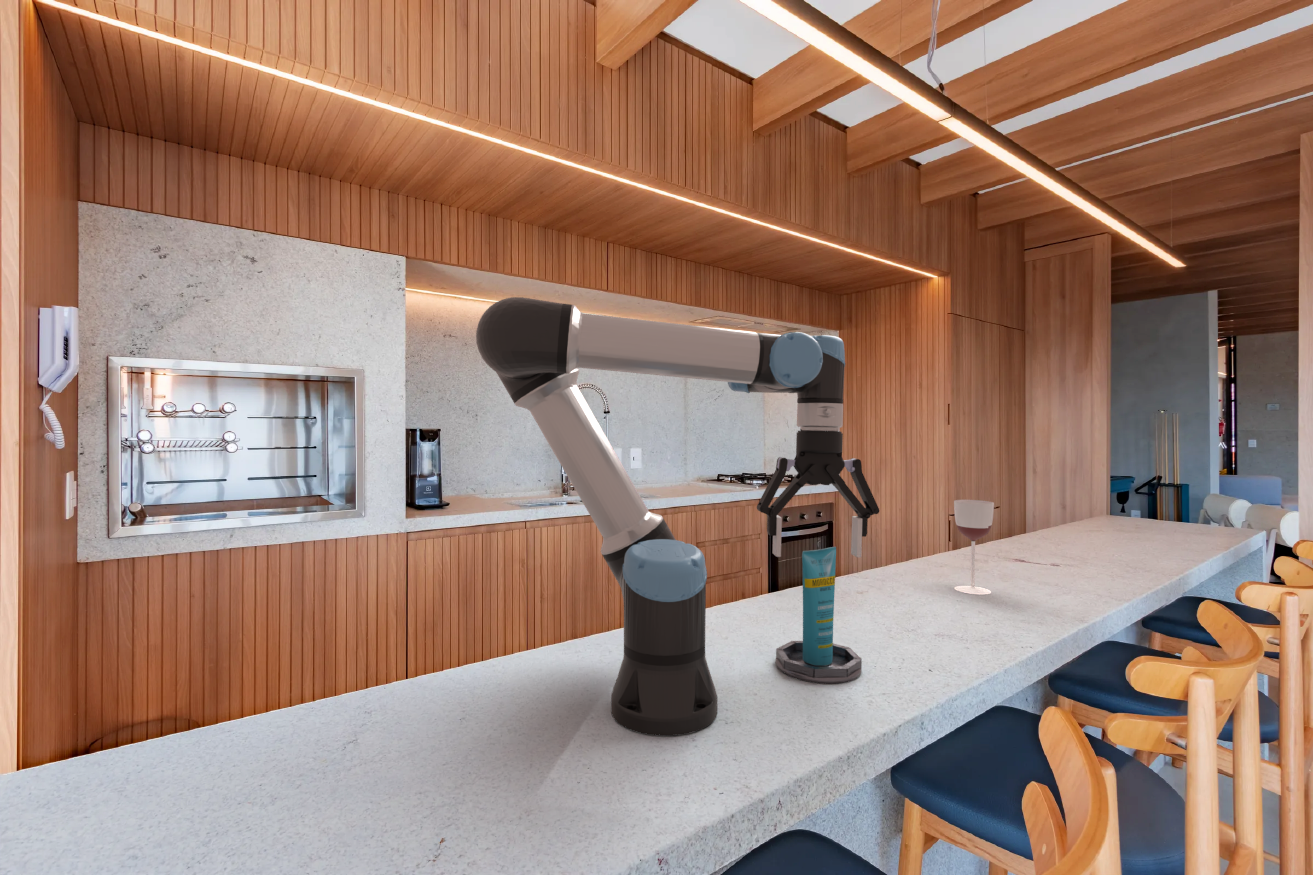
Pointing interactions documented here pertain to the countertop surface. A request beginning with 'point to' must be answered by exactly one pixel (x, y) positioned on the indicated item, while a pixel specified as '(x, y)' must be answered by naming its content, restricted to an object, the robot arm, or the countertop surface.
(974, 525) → the wineglass
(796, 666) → the octagonal bowl
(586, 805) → the countertop surface
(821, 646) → the tube
